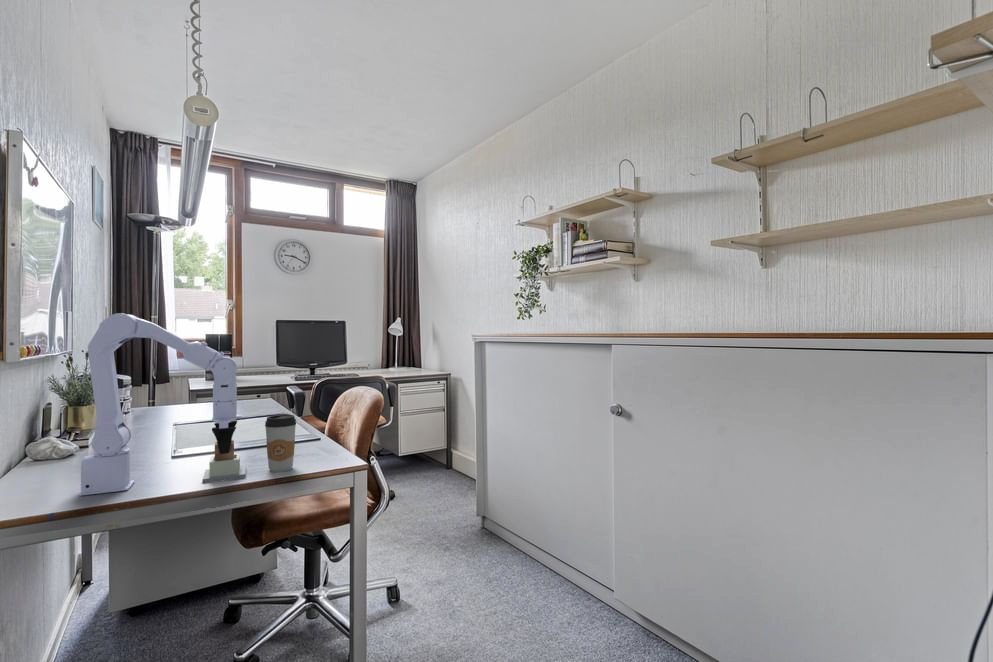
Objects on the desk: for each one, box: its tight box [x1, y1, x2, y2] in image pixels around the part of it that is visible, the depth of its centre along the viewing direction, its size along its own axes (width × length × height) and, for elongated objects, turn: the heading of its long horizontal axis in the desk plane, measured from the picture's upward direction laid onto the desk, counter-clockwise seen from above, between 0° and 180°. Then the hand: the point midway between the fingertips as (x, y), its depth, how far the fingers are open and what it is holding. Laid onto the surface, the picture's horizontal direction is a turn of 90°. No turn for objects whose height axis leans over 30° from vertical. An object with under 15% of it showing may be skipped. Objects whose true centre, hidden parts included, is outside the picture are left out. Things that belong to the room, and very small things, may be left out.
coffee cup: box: [264, 414, 297, 473], centre depth 142 cm, size 8×8×15 cm
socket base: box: [201, 453, 247, 484], centre depth 136 cm, size 10×10×5 cm
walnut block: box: [214, 439, 235, 461], centre depth 136 cm, size 4×4×5 cm
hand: (225, 450), depth 136 cm, fingers open, 7 cm apart
